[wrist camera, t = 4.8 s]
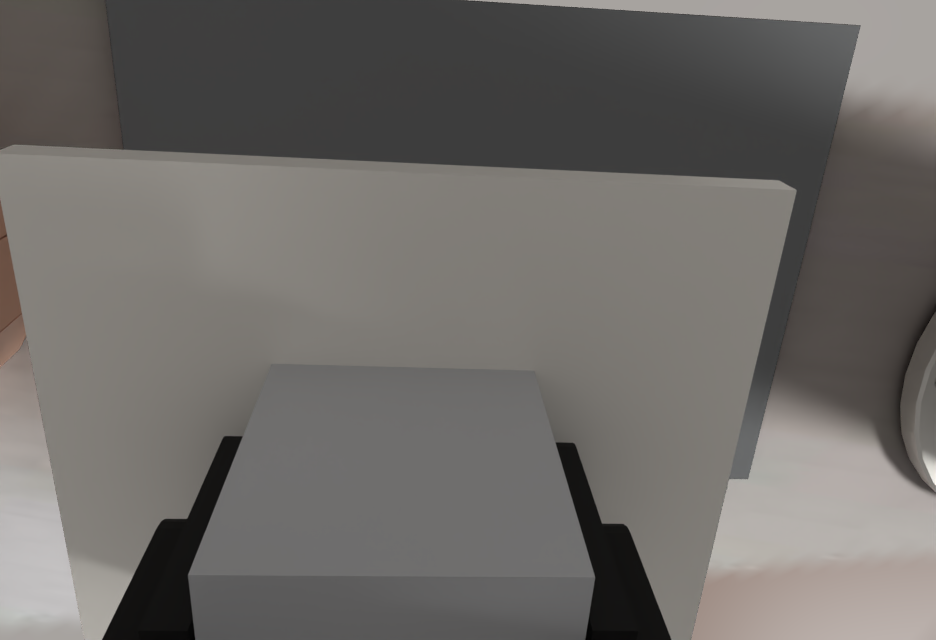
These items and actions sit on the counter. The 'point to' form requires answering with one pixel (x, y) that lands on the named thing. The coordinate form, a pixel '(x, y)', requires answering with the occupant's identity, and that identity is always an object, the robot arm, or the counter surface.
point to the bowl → (8, 302)
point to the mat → (496, 97)
